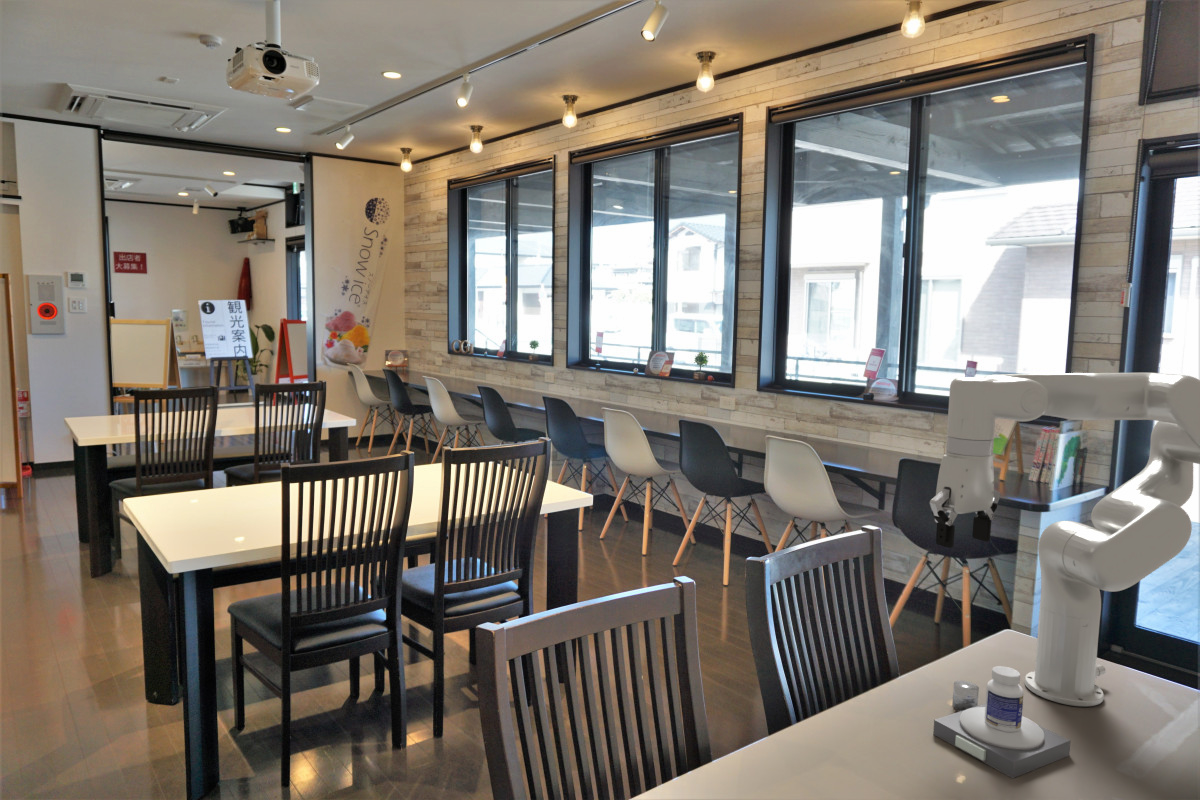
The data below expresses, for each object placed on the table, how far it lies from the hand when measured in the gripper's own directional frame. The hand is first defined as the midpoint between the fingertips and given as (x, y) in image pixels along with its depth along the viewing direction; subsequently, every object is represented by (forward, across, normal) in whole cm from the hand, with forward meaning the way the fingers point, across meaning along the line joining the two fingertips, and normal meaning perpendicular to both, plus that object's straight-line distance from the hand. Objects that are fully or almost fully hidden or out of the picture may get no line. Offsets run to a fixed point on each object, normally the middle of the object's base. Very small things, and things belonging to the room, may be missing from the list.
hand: (963, 542), depth 142 cm
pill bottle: (+25, +8, +15) cm, 30 cm away
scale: (+28, +8, +15) cm, 33 cm away
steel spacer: (+28, +2, +4) cm, 29 cm away
